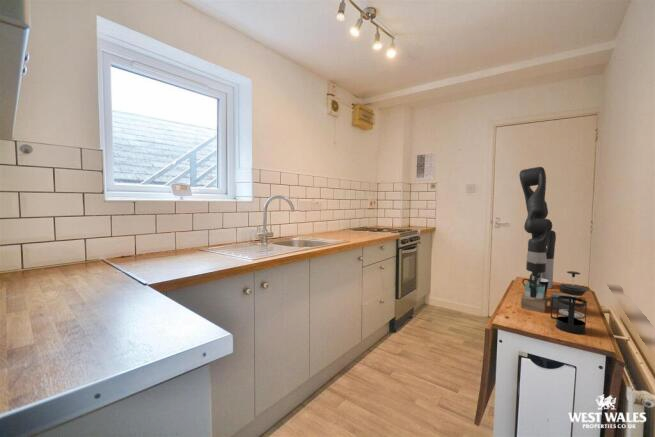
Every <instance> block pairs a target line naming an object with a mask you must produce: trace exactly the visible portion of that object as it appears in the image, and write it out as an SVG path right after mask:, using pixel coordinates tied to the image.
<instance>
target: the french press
mask: <svg viewBox="0 0 655 437" xmlns="http://www.w3.org/2000/svg"><path fill="white" fill-rule="evenodd" d="M566 273H567V274H570V275H571V278H572V284H571V283H570V284H568V283H567V284H565V283H560V284H558V287H559V292H560V293H561V294H564V295H569V296H558V297H554V296H552V301H551V308H550V319H551V320H555V321H556V322H555V327H556V328H557V329H558V330H560V331H562V332H565V333H569V334H573V335H585V334H586V333H587V330H586V326H587V312H588V311H587V307H588V301H587V300H585V299H583V298H580V297H582V296H584V295H585V293H586V292H588V290H589V289H588V288H587V287H584V286H581V285H577V284H574V282H575V277H576V275H581V273H580V272H577V271H571V270H570V271H569V270H568V271H566ZM571 296H572V297H571ZM573 296H575V297H573ZM553 298H555V299H558V302H560V303H563V304H566V305H569V310H566V309H561V310H560V309H558V302H557V309H556V316H553V308H552V307H553ZM561 299H569V302H568V301H564V300H561ZM575 301H576V303H575ZM578 302H579V303H578ZM575 306H576V307H577V308H578V307H579V308H583V307H585V310H584V311H585V312H584V313H582V312H579V311H576V308H575ZM574 310H575V311H574ZM559 314H560V315H559ZM582 319H584V321H583V320H582Z"/></svg>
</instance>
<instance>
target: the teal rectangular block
mask: <svg viewBox="0 0 655 437" xmlns="http://www.w3.org/2000/svg"><path fill="white" fill-rule="evenodd" d="M524 284H525V286H524V294H525V297H528V298H533V297H530V288H529V285H530V283H529V281H528V282H526V283H524ZM532 286H534V287H535V285H532ZM544 295H545V285H541V284H539V285H538V286H537V290H536V298H533V299H538V300H543V299H544Z"/></svg>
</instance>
